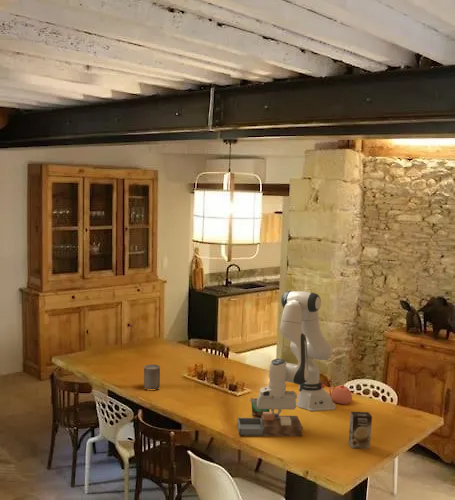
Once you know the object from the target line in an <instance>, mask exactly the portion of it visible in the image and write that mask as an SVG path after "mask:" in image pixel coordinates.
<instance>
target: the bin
mask: <svg viewBox="0 0 455 500" xmlns="http://www.w3.org/2000/svg"><path fill="white" fill-rule="evenodd" d="M236 419H237V421H236V422H237V423H236V427H237V431H238V436H239V435H244V436H243V437H265V436H264V432H265V429H264V425H263V422H262V419H261V418H259V417H237V418H236ZM245 435H247V436H245Z"/></svg>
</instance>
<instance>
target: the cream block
mask: <svg viewBox="0 0 455 500" xmlns="http://www.w3.org/2000/svg"><path fill="white" fill-rule="evenodd" d="M280 424H281V425H291V419H290V417H280Z"/></svg>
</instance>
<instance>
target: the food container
mask: <svg viewBox="0 0 455 500" xmlns="http://www.w3.org/2000/svg"><path fill="white" fill-rule="evenodd" d="M249 402H251V403H250V404H251V415H252V416H253V417H254V418H261V415H263V412H271V409H258V408H257V398H254V397H252V396H251V397H250V400H249Z"/></svg>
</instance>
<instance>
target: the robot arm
mask: <svg viewBox="0 0 455 500" xmlns="http://www.w3.org/2000/svg"><path fill="white" fill-rule="evenodd" d="M280 300H281V305H282V307H283V310H282V314H281V318H280V319H281V320H280V325H279V327H280V333H281V335H282V336H283V337H284V338H285V339H287V340H288V341H290V344H289V346H290V348H289V349H290V351H291V352H292V354H294V357H296V360H297V361H298V363H297V364H296V363H292V362H286V360H285V359H283V358H273V359H272V360H271V361H270V365H269V373H268V378H269V381H268V385H267V386H264V387H261V388H260V389H259V394H258V395H257V398H256V399H257V408H258V409H270V412H272V413H273V415H274V417H279V416H280V414H281V412H282V410H296V408H297V407H299V408H300V409H303V410H304V409H305V410H307V411H310V412H312V411H313V412H317V411H319V412H320V411H331V410H334V411H335V410H336V407H337V406H336V403H335V402H334V401H333V400H332V399H331V396H330V392H328V391H326V390H325V386H326V385H325V384H324V383H323V382H321V381H320V375H321V374H320V372H321V370H320V367H319V366H318V365H317V363H315V361H314V360H316V361H317V360H318V361H328V360H329V359H330V358H331V357H332V355H333V347H332V344H331V343H330V342H328V341H327V339H326V338H325V337H324V335H323V333H322V331H321V327H320V316H319V309H320V308H321V304H322V303H321V302H322V301H321V297H320V295H319V294H318V293H315V292H309V291H300V290H297V291H293V290H287V291H285V292H283V294H282V296H281V298H280ZM313 359H314V360H313ZM286 382H287V383H292V384H295V385H298V395H297V392H296V391H295V390H294V391H293V390H292V391H291V390H290V391H289V390H287V388H286V387H287V386H286ZM275 410H278V411H277V412H275Z"/></svg>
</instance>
